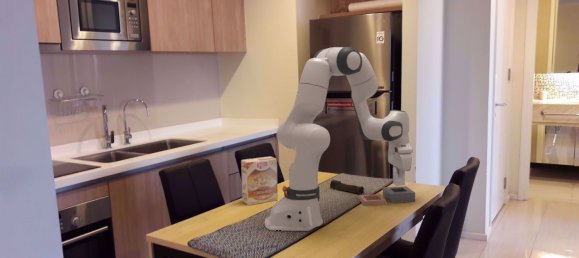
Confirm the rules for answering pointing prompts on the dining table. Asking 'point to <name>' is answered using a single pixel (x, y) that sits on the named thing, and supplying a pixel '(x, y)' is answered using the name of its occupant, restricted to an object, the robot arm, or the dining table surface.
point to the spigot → (396, 179)
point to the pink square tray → (372, 200)
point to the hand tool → (346, 187)
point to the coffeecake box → (259, 180)
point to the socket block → (398, 194)
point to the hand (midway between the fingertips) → (398, 176)
